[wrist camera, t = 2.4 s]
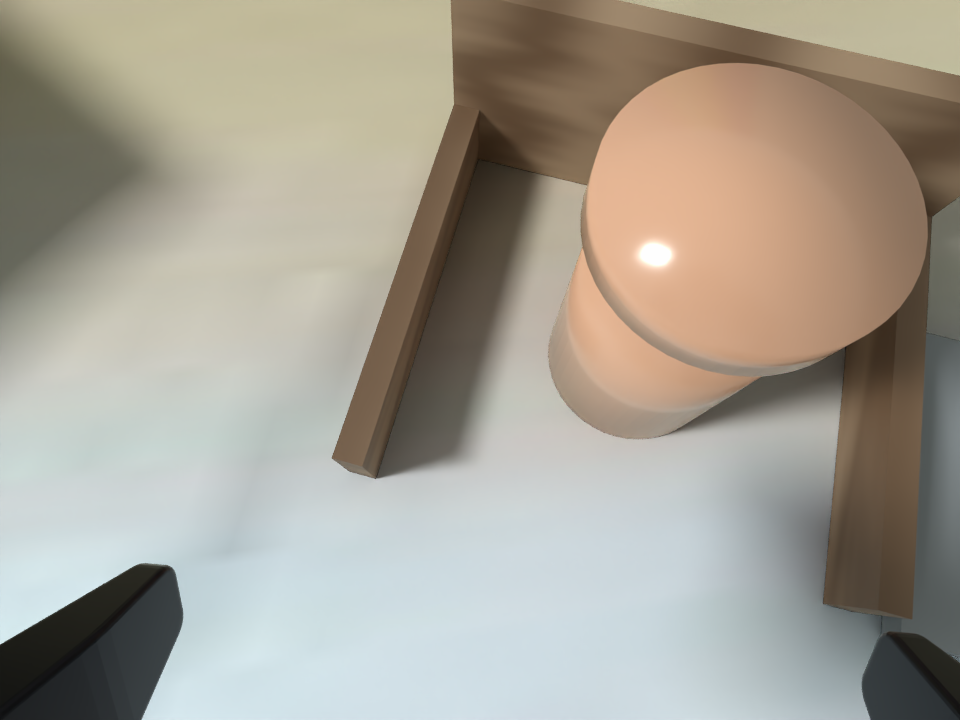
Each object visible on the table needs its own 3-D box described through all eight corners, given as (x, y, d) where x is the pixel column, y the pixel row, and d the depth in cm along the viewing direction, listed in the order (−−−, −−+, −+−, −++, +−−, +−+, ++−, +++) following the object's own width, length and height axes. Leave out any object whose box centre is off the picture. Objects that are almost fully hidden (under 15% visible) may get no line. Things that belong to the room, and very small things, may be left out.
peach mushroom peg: (736, 296, 25) (934, 102, 14) (709, 472, 23) (919, 396, 12) (561, 253, 25) (626, 33, 15) (518, 421, 23) (559, 304, 13)
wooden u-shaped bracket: (881, 234, 26) (1055, 96, 18) (852, 611, 21) (1068, 640, 14) (462, 134, 27) (459, -35, 19) (349, 471, 22) (287, 424, 15)
